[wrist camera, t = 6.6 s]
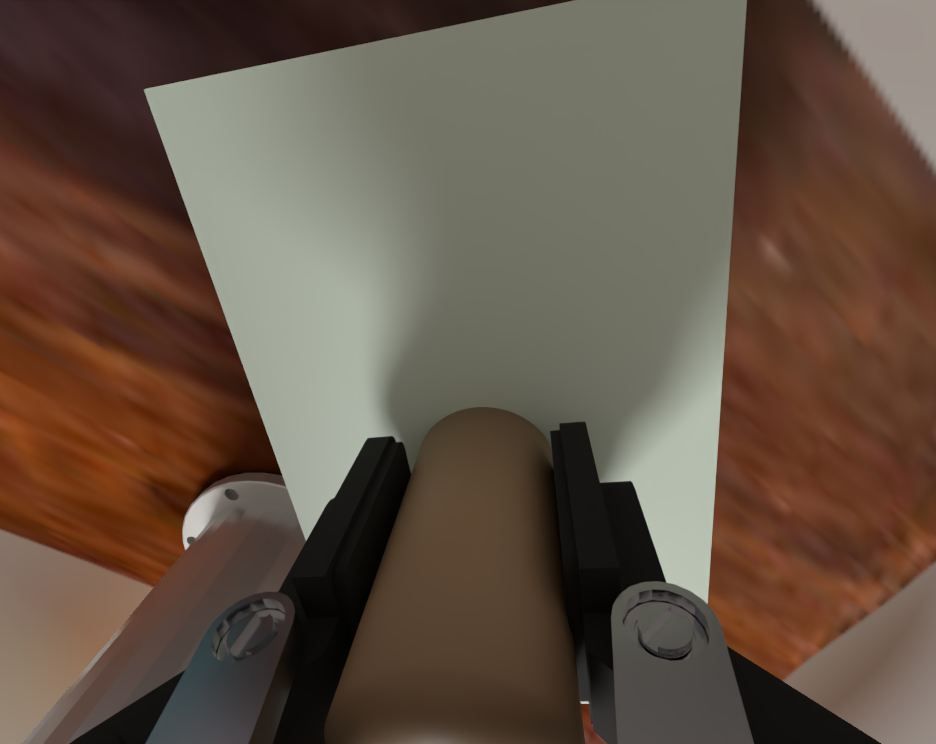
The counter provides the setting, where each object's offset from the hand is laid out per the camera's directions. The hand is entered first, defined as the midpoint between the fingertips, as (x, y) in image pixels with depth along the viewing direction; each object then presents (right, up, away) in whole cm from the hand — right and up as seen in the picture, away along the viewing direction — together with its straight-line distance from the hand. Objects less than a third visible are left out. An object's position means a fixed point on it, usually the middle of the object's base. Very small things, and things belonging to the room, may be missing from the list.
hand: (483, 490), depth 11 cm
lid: (0, +1, +2) cm, 2 cm away
